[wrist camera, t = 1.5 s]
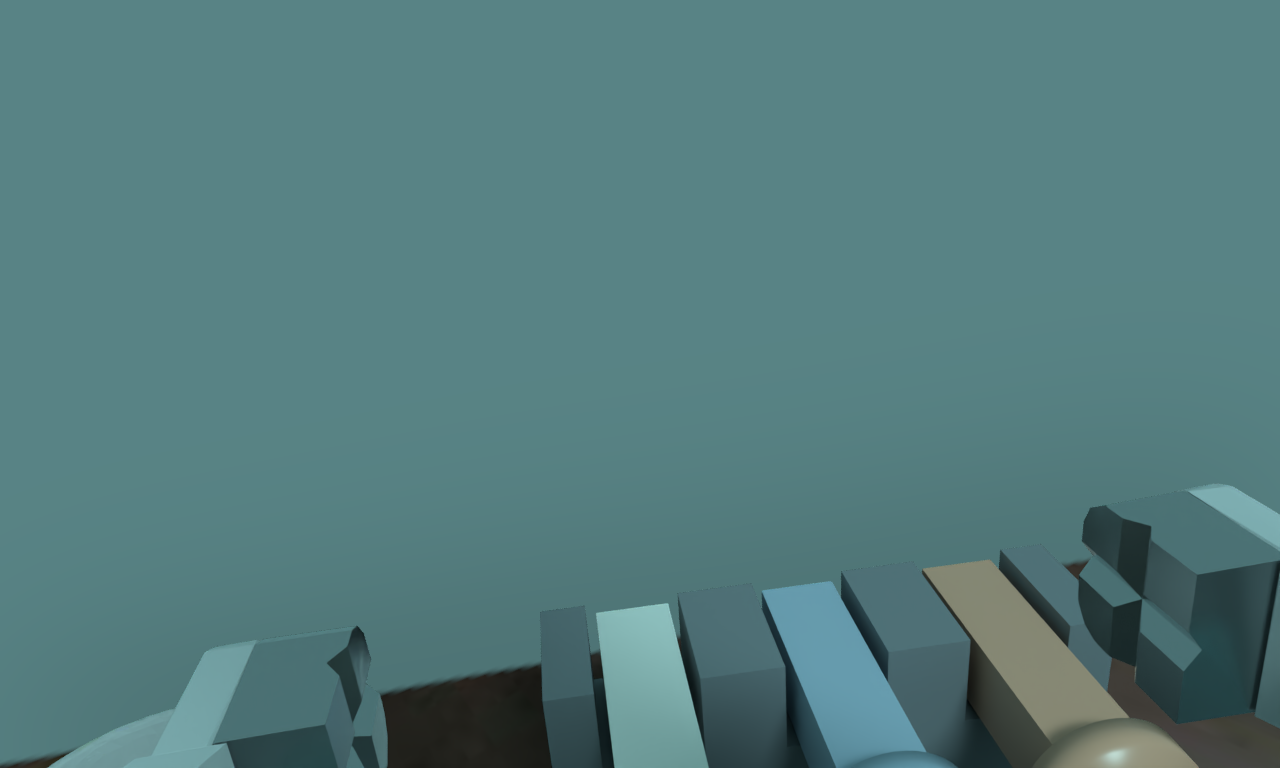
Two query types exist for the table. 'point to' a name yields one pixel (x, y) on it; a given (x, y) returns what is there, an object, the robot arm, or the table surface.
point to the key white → (647, 691)
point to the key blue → (838, 686)
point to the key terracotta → (1040, 683)
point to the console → (755, 673)
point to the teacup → (119, 744)
